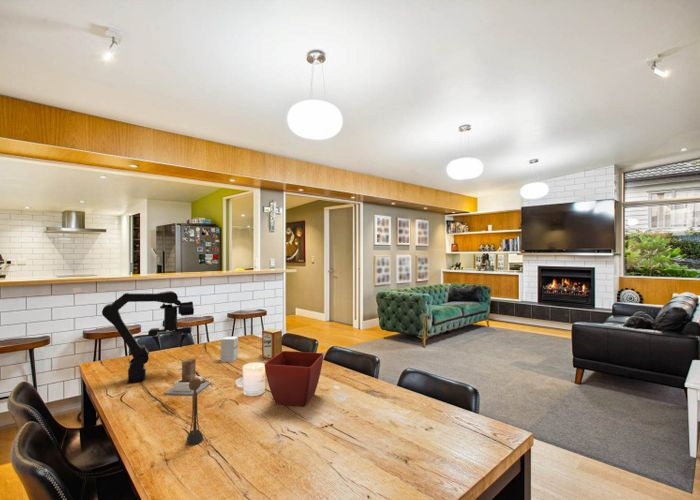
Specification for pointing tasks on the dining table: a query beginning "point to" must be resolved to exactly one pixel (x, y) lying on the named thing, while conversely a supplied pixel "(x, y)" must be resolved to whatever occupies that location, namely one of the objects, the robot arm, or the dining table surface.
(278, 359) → the plant pot
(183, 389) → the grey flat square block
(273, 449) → the dining table surface
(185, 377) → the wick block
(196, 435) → the wooden tabletop sculpture
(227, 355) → the supplement box
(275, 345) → the baking soda box
